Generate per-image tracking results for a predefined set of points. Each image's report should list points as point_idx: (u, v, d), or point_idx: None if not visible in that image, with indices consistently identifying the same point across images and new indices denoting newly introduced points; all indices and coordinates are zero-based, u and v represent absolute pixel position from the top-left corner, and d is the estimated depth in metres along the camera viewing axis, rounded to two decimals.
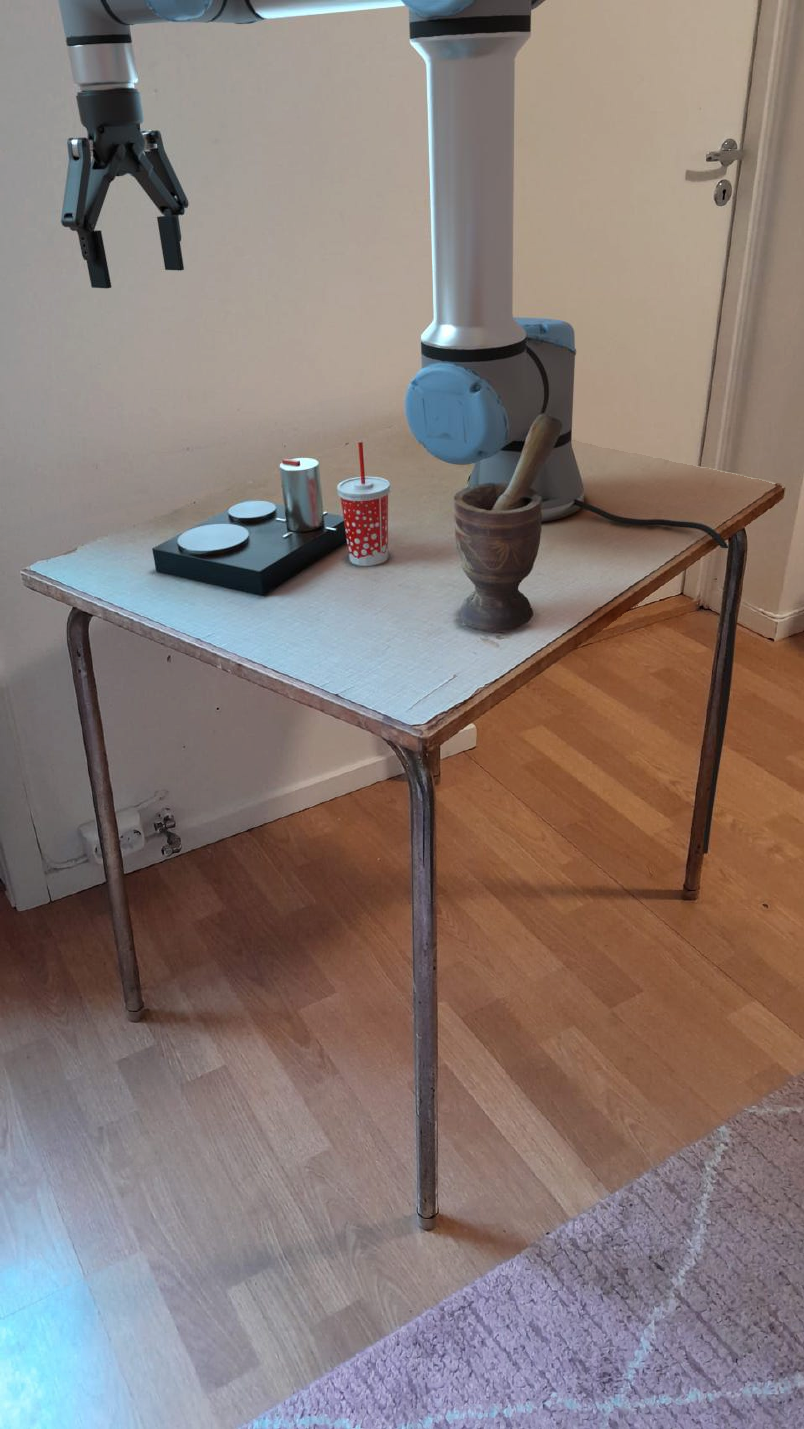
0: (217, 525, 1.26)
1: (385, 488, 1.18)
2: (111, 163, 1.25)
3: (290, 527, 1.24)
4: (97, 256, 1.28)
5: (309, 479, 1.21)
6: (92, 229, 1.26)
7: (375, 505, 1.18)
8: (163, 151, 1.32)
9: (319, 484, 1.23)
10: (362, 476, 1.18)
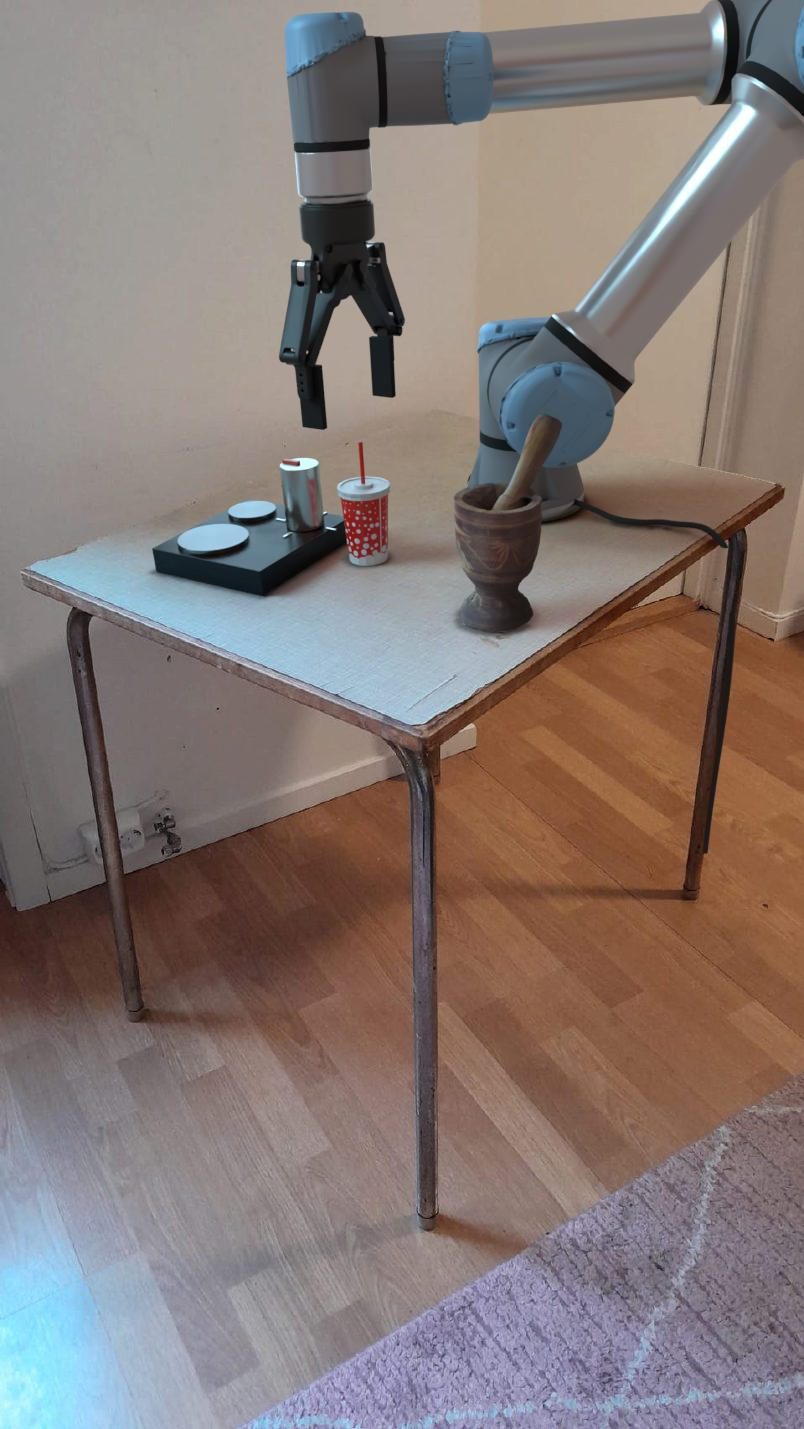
0: (217, 525, 1.26)
1: (385, 488, 1.18)
2: (337, 287, 1.06)
3: (290, 527, 1.24)
4: (315, 393, 1.08)
5: (309, 479, 1.21)
6: (313, 364, 1.06)
7: (375, 505, 1.18)
8: (386, 265, 1.13)
9: (319, 484, 1.23)
10: (362, 476, 1.18)
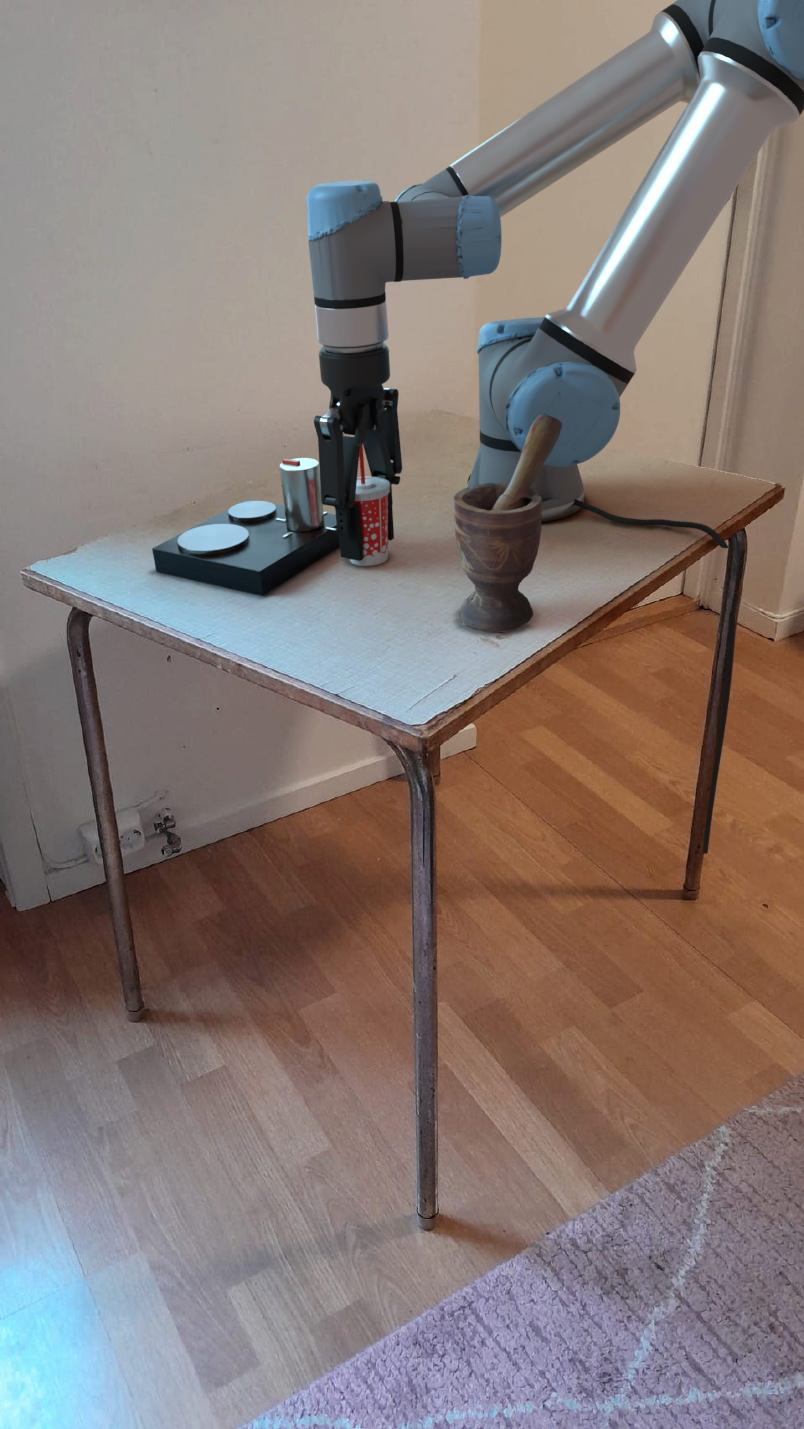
0: (217, 525, 1.26)
1: (385, 488, 1.18)
2: (359, 430, 1.13)
3: (290, 527, 1.24)
4: (353, 529, 1.18)
5: (309, 479, 1.21)
6: (353, 504, 1.16)
7: (375, 505, 1.18)
8: (396, 411, 1.19)
9: (319, 484, 1.23)
10: (362, 476, 1.18)
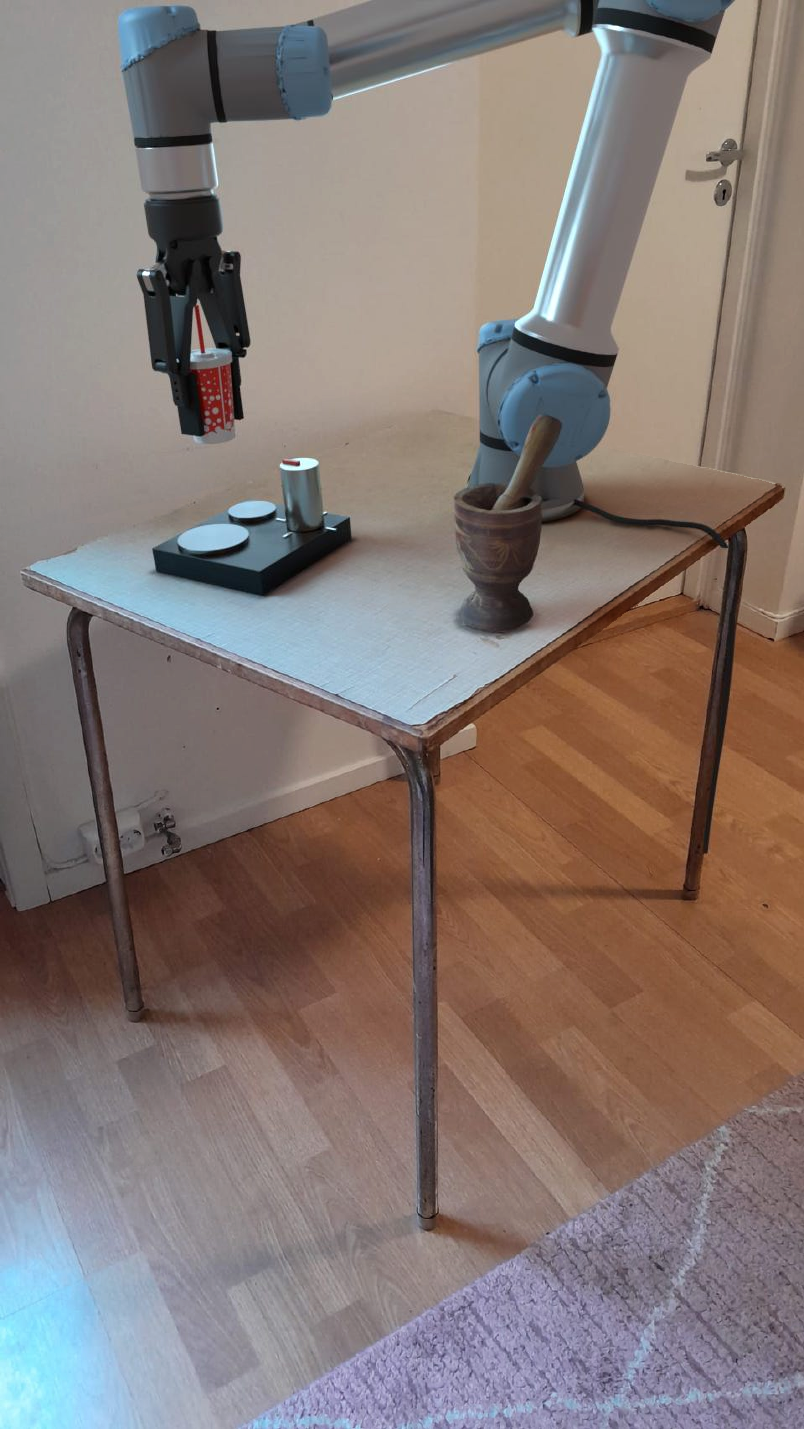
0: (217, 525, 1.26)
1: (225, 357, 1.10)
2: (190, 288, 1.05)
3: (290, 527, 1.24)
4: (191, 401, 1.11)
5: (309, 479, 1.21)
6: (187, 372, 1.09)
7: (214, 374, 1.10)
8: (238, 276, 1.12)
9: (319, 484, 1.23)
10: (201, 345, 1.11)
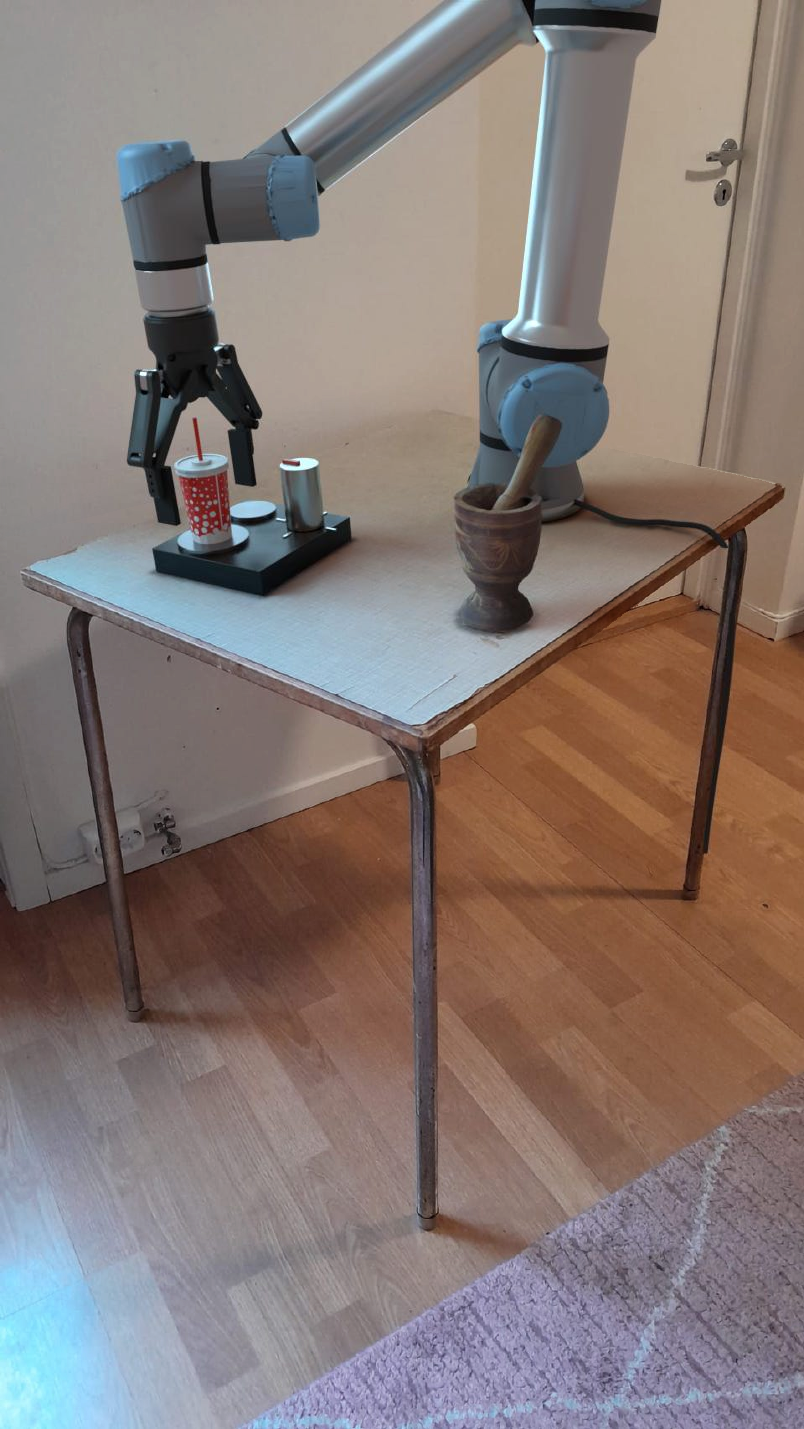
0: None
1: (221, 465, 1.17)
2: (183, 392, 1.10)
3: (290, 527, 1.24)
4: (166, 492, 1.13)
5: (309, 479, 1.21)
6: (161, 467, 1.11)
7: (211, 482, 1.17)
8: (237, 365, 1.17)
9: (319, 484, 1.23)
10: (199, 453, 1.17)
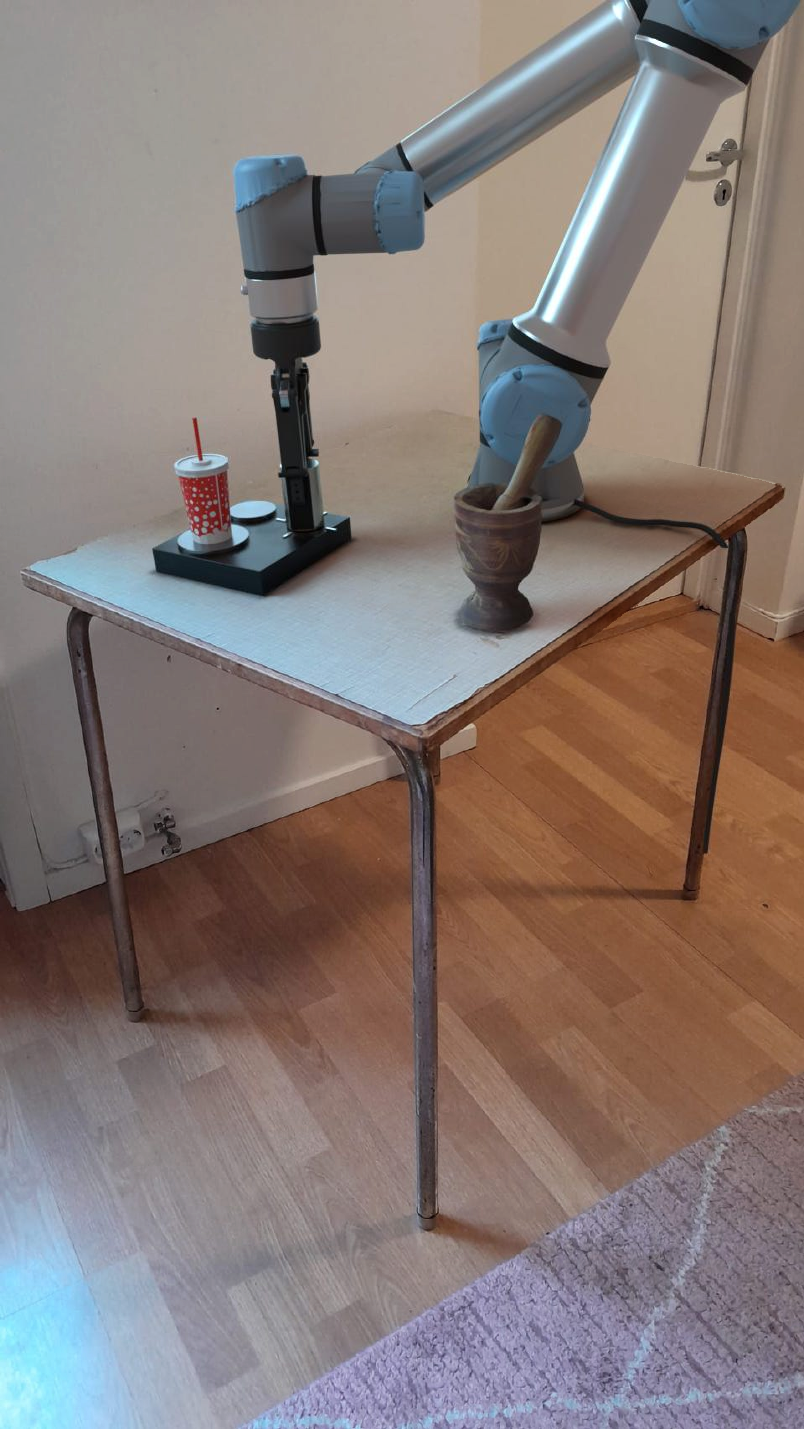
0: None
1: (221, 465, 1.17)
2: (304, 399, 1.16)
3: (290, 527, 1.24)
4: (305, 498, 1.21)
5: None
6: (306, 473, 1.19)
7: (211, 482, 1.17)
8: None
9: (319, 484, 1.23)
10: (199, 453, 1.17)
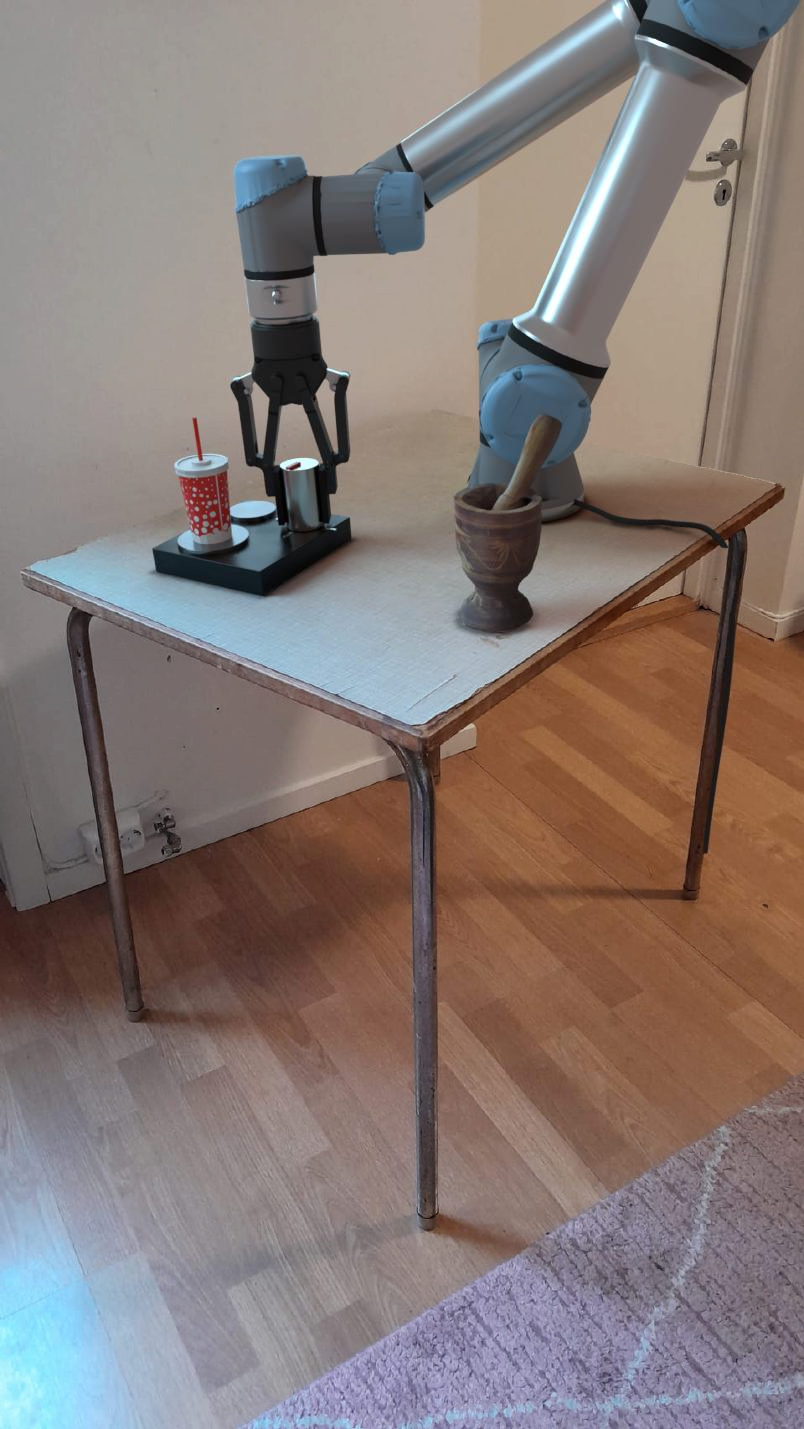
0: None
1: (221, 465, 1.17)
2: None
3: (317, 526, 1.24)
4: None
5: None
6: None
7: (211, 482, 1.17)
8: None
9: None
10: (199, 453, 1.17)
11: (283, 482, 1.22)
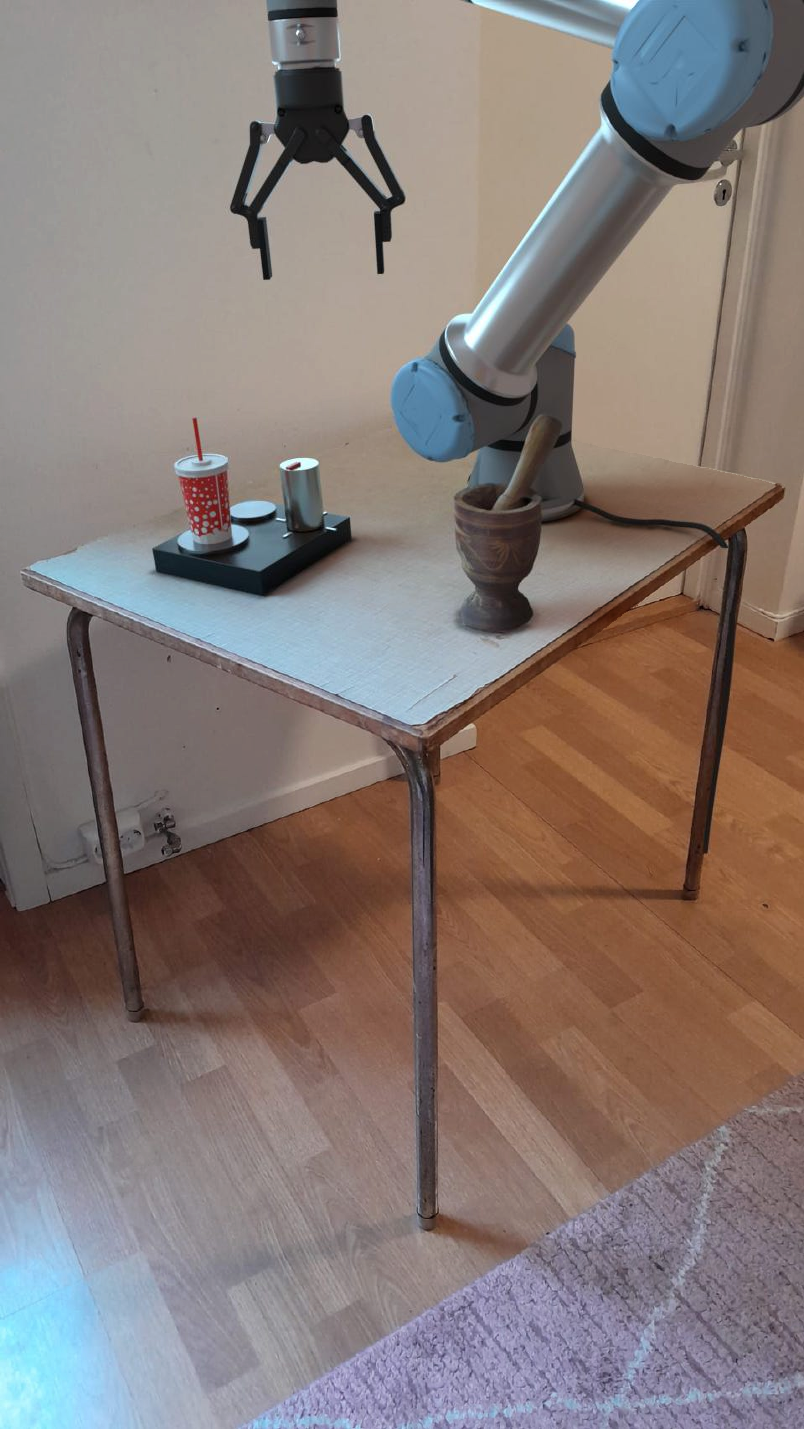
0: None
1: (221, 465, 1.17)
2: (341, 145, 1.19)
3: (317, 526, 1.24)
4: None
5: None
6: None
7: (211, 482, 1.17)
8: None
9: None
10: (199, 453, 1.17)
11: (283, 482, 1.22)
